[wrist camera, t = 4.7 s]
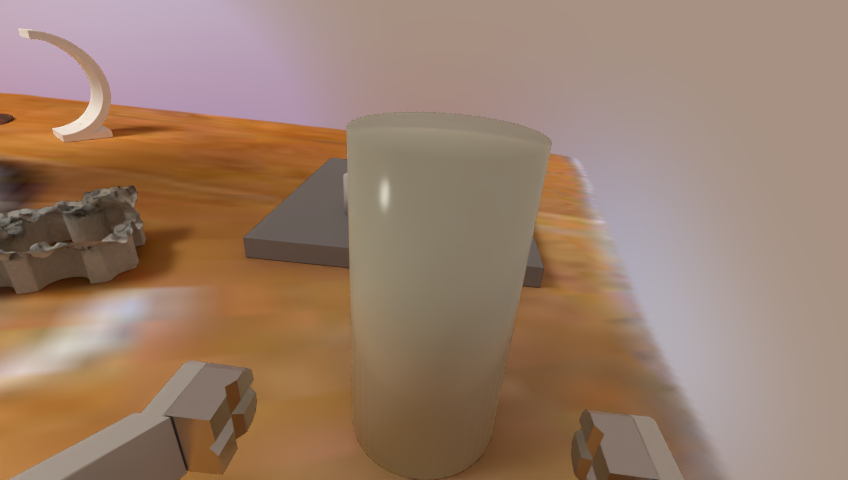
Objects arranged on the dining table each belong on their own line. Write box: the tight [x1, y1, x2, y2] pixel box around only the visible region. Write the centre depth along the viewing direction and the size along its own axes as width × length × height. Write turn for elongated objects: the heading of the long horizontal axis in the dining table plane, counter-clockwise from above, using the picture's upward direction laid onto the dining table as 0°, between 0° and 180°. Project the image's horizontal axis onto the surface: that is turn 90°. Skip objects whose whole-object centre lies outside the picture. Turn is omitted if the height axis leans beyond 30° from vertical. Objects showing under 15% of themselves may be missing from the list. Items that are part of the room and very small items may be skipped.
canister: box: [347, 112, 552, 480], centre depth 15 cm, size 6×6×12 cm
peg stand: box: [243, 158, 544, 287], centre depth 35 cm, size 20×20×4 cm
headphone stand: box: [18, 28, 113, 142], centre depth 50 cm, size 5×6×12 cm
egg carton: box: [0, 186, 146, 294], centre depth 25 cm, size 11×8×4 cm
